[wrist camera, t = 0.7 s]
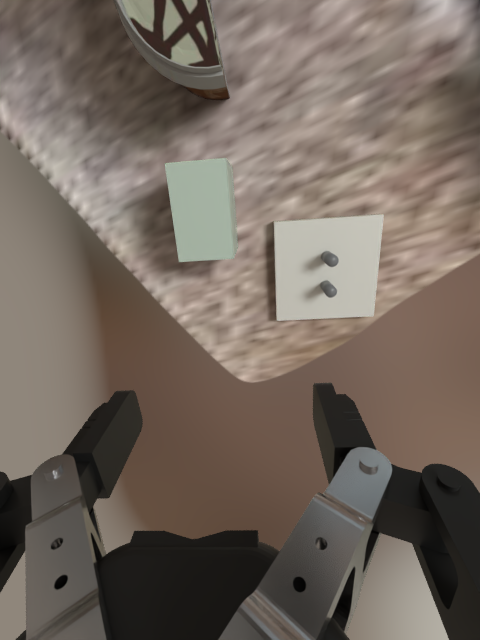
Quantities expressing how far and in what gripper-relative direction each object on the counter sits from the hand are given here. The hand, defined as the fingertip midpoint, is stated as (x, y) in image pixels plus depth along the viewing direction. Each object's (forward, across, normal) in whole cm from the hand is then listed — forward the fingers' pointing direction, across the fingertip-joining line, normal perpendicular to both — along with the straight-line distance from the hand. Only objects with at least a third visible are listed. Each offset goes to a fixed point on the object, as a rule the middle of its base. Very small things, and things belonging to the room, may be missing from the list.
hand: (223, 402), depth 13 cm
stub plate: (+23, -9, 0) cm, 25 cm away
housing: (+23, +3, -7) cm, 24 cm away
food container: (+24, +4, -21) cm, 32 cm away
